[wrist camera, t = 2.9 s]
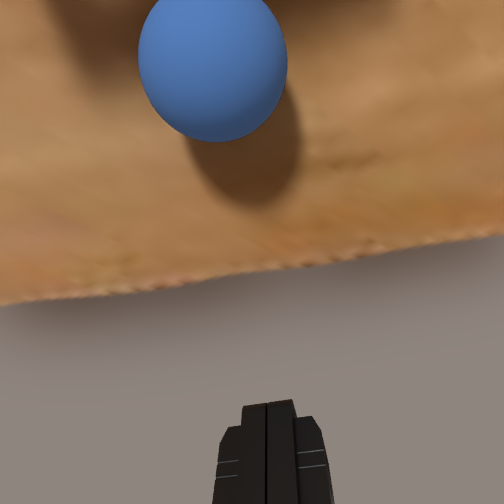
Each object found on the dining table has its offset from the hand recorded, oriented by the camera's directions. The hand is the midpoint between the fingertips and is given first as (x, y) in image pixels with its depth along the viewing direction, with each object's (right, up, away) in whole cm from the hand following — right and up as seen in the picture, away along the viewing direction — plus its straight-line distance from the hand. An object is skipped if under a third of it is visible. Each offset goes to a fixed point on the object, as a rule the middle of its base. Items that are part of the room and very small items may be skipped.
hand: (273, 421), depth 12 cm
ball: (-2, +13, +4) cm, 14 cm away
